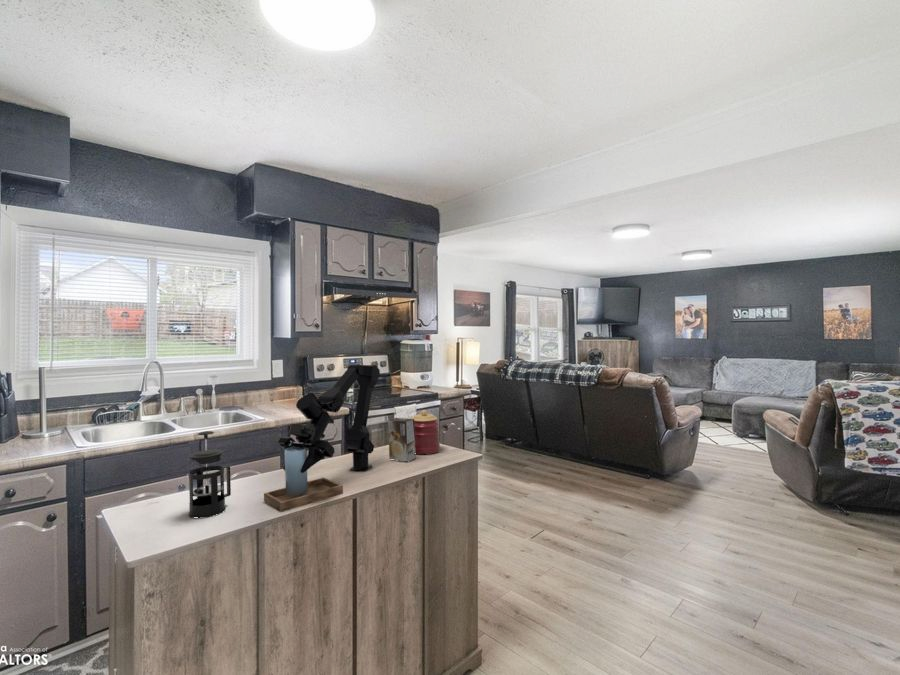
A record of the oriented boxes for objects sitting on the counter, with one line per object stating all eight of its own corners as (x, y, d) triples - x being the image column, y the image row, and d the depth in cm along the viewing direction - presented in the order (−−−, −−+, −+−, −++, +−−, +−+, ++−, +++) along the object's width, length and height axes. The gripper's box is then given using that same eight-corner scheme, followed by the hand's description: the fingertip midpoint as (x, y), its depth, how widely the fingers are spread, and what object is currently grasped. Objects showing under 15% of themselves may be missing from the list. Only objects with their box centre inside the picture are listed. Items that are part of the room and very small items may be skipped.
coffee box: (416, 458, 180) (415, 418, 180) (407, 462, 175) (406, 421, 175) (397, 456, 184) (396, 417, 184) (388, 460, 179) (387, 420, 179)
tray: (323, 484, 150) (323, 477, 150) (342, 493, 142) (342, 485, 142) (264, 501, 136) (263, 493, 136) (281, 511, 127) (281, 503, 127)
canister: (428, 457, 182) (427, 413, 182) (403, 453, 189) (402, 411, 189) (445, 449, 193) (445, 409, 193) (421, 446, 200) (420, 406, 200)
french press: (195, 522, 122) (193, 437, 121) (180, 514, 127) (178, 433, 127) (237, 508, 131) (236, 429, 131) (221, 501, 137) (220, 426, 137)
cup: (287, 488, 140) (286, 447, 140) (308, 487, 141) (307, 445, 141) (284, 496, 133) (282, 452, 133) (306, 493, 135) (305, 450, 135)
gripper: (280, 411, 144) (254, 454, 134) (327, 414, 137) (303, 460, 127) (298, 431, 152) (275, 473, 142) (344, 434, 144) (322, 479, 134)
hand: (292, 471), depth 136 cm, fingers closed on cup, 6 cm apart
